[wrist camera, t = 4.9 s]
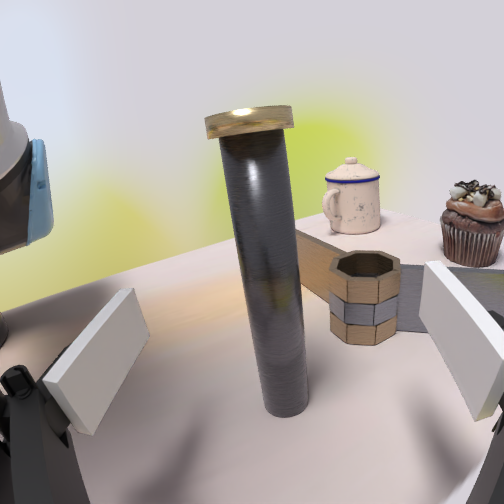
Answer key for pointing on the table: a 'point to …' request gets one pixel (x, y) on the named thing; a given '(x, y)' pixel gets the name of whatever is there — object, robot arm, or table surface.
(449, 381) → the table surface
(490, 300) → the hinge leaf
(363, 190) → the teacup with lid
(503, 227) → the cupcake
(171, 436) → the table surface
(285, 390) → the hinge pin
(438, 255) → the table surface
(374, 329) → the tan flat knuckled part
